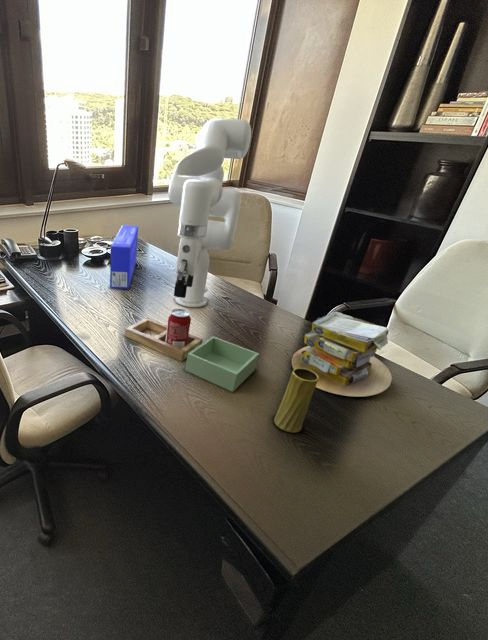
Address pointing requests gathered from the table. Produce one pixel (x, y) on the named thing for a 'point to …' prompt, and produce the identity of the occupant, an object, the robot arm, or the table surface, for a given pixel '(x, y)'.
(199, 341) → the caddy
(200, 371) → the bin
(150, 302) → the table surface
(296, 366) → the stacked boxes on plate
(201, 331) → the table surface
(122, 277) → the blue box
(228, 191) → the robot arm
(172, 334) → the soda can
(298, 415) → the vase
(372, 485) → the table surface
